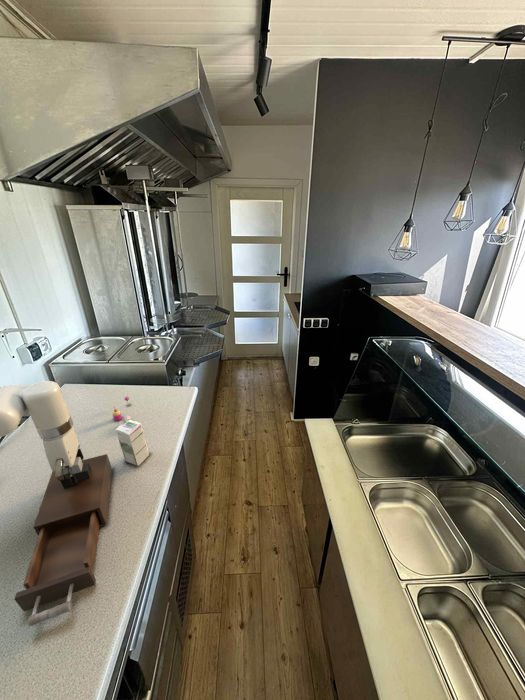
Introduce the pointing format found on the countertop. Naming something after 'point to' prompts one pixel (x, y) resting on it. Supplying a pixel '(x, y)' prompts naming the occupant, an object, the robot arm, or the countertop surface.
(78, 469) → the two-tone rectangular prism
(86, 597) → the countertop surface
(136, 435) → the syrup box
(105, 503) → the cabinet
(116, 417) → the candy
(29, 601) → the drawer
